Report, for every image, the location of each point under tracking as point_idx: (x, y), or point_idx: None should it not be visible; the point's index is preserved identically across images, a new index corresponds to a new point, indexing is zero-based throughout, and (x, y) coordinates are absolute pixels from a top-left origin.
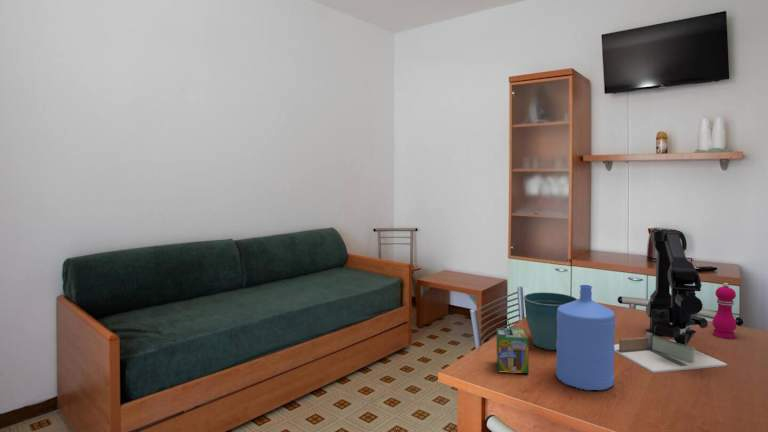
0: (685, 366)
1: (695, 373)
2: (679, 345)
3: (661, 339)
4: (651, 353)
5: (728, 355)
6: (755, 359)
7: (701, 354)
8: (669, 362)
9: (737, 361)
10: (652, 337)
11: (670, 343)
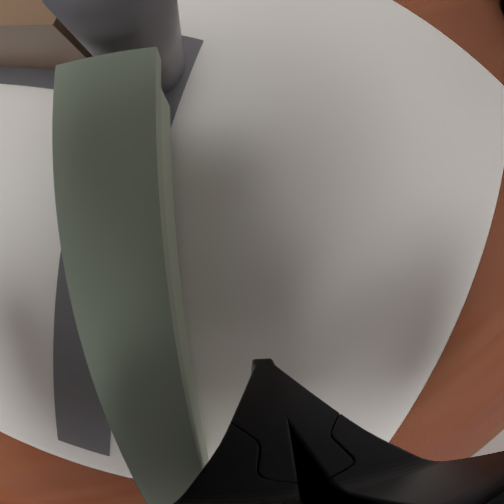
0: (84, 454)
1: (89, 483)
2: (141, 487)
3: (72, 253)
4: (44, 173)
5: (490, 388)
6: (490, 433)
7: (411, 377)
8: (29, 378)
9: (439, 447)
10: (58, 70)
11: (106, 401)
